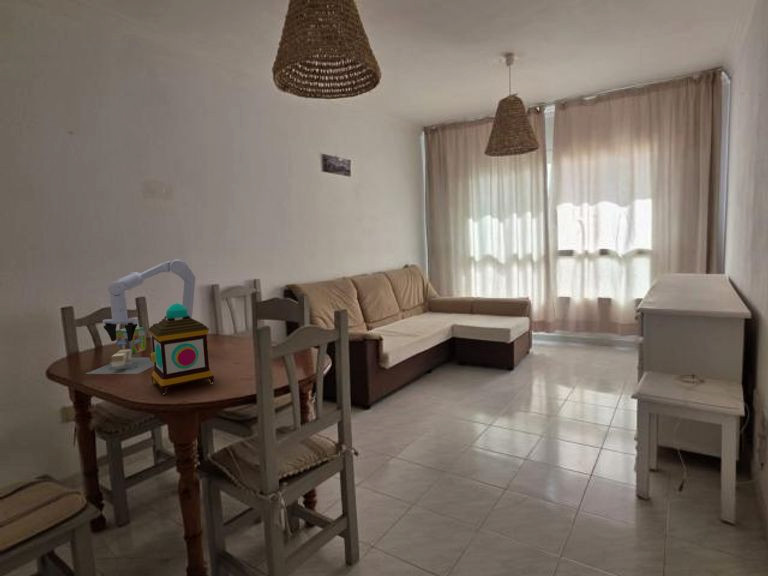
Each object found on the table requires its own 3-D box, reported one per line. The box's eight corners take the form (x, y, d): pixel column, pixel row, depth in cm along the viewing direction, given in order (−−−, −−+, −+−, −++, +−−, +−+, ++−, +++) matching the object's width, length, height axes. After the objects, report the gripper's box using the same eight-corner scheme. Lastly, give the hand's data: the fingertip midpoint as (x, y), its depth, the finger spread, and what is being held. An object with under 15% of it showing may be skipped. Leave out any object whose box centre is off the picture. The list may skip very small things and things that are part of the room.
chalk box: (134, 355, 209) (131, 324, 207) (116, 355, 210) (113, 324, 208) (147, 350, 218) (145, 320, 216) (130, 350, 219) (128, 320, 217)
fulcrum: (138, 366, 187) (137, 360, 186) (131, 369, 183) (131, 363, 182) (115, 366, 188) (114, 360, 187) (108, 369, 184) (108, 363, 183)
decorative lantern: (147, 384, 165) (139, 303, 162) (203, 373, 177) (197, 297, 174) (158, 398, 150) (150, 309, 146) (219, 385, 161) (213, 302, 158)
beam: (123, 365, 179) (122, 355, 179) (112, 366, 178) (111, 356, 178) (132, 357, 191) (131, 348, 190) (122, 358, 190) (121, 349, 189)
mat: (171, 358, 200) (171, 357, 200) (137, 375, 177) (137, 373, 177) (125, 358, 203) (125, 357, 202) (85, 375, 179) (85, 373, 179)
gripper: (141, 307, 194) (144, 338, 195) (109, 308, 195) (112, 338, 197) (130, 310, 187) (133, 342, 188) (97, 310, 188) (101, 342, 190)
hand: (122, 340), depth 192 cm, fingers open, 7 cm apart
